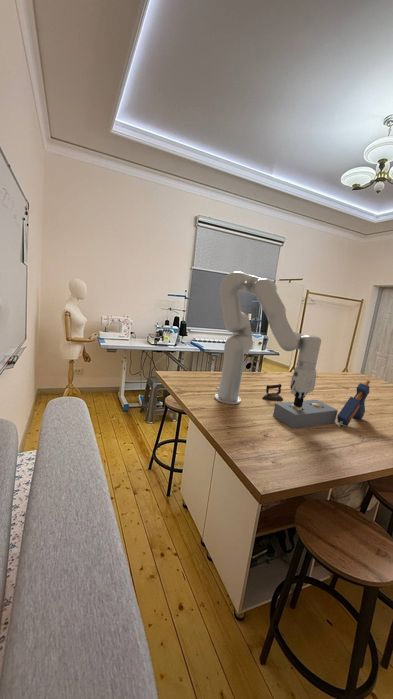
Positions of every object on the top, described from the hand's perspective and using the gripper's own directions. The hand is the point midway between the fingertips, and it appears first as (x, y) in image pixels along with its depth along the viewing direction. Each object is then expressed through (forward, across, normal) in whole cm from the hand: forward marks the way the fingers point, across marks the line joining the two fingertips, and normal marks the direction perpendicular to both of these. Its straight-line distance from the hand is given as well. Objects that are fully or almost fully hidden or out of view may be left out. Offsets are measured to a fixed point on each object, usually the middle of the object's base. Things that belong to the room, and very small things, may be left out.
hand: (297, 405), depth 123 cm
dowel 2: (+7, +13, 0) cm, 14 cm away
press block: (+7, +6, 0) cm, 9 cm away
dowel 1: (+6, 0, 0) cm, 6 cm away
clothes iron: (+7, +8, +24) cm, 26 cm away
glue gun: (+8, +28, -7) cm, 30 cm away
